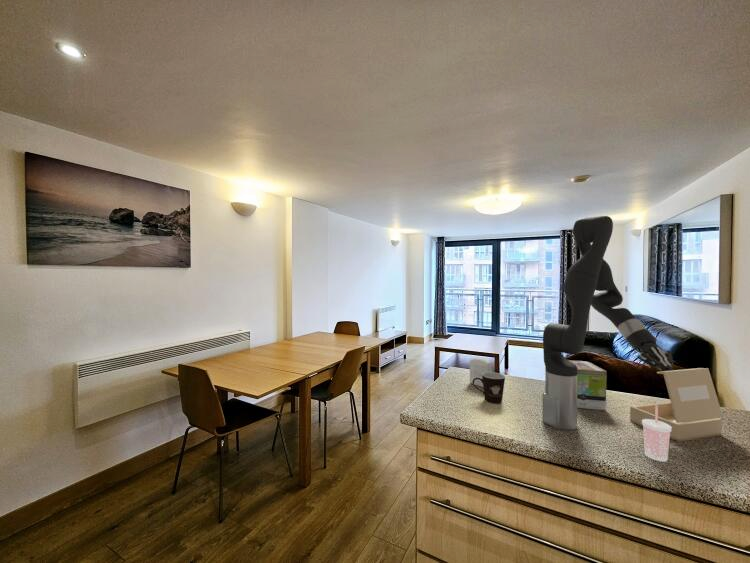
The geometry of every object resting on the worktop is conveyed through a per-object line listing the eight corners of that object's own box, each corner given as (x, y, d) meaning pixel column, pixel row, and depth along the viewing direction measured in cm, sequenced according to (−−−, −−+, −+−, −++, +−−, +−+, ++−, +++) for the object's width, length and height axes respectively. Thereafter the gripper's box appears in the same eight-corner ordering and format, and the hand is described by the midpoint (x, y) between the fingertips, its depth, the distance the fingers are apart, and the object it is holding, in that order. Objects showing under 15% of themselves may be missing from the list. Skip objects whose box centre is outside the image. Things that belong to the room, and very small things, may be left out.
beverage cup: (647, 460, 84) (647, 408, 84) (637, 448, 90) (638, 399, 90) (676, 465, 82) (676, 411, 82) (664, 453, 88) (665, 403, 88)
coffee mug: (506, 399, 127) (507, 374, 126) (502, 406, 119) (502, 380, 119) (477, 393, 133) (477, 369, 133) (471, 400, 125) (471, 375, 125)
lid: (669, 421, 96) (678, 423, 94) (656, 371, 99) (665, 371, 97) (713, 415, 100) (723, 417, 98) (699, 368, 104) (708, 368, 101)
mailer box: (677, 441, 94) (678, 425, 94) (630, 421, 108) (630, 406, 107) (721, 435, 98) (721, 419, 98) (670, 416, 112) (670, 401, 112)
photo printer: (493, 387, 140) (493, 359, 140) (487, 389, 138) (487, 361, 137) (474, 381, 148) (474, 355, 148) (468, 383, 146) (468, 356, 146)
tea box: (607, 410, 116) (607, 370, 116) (577, 408, 118) (577, 369, 118) (588, 396, 131) (588, 360, 131) (561, 394, 133) (562, 359, 133)
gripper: (629, 328, 110) (669, 374, 98) (658, 327, 113) (700, 371, 101) (614, 341, 115) (650, 385, 104) (642, 339, 118) (680, 382, 107)
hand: (674, 378), depth 103 cm, fingers closed
